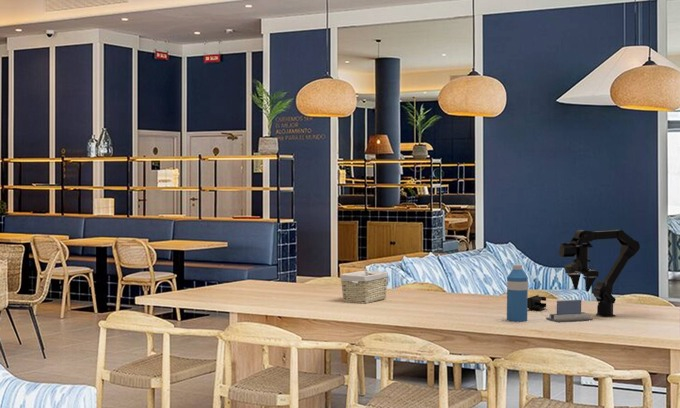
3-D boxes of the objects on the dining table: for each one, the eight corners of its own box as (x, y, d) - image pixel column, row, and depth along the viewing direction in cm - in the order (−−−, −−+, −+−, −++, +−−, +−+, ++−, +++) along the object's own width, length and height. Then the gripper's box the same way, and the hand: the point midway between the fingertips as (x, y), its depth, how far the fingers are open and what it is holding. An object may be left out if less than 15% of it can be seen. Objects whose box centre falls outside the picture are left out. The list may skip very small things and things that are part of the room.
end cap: (532, 308, 465) (532, 294, 465) (546, 309, 461) (546, 295, 461) (525, 310, 457) (525, 296, 457) (539, 311, 453) (539, 297, 453)
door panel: (579, 317, 429) (579, 299, 428) (581, 317, 427) (581, 300, 427) (556, 318, 424) (556, 300, 424) (558, 319, 423) (558, 301, 423)
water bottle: (524, 318, 429) (525, 264, 428) (529, 321, 420) (530, 265, 419) (504, 318, 429) (505, 264, 428) (508, 321, 419) (509, 265, 419)
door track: (579, 317, 434) (579, 311, 434) (592, 320, 424) (592, 314, 424) (546, 319, 427) (546, 313, 427) (558, 322, 418) (558, 316, 418)
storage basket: (365, 304, 477) (365, 275, 477) (338, 302, 486) (338, 273, 485) (389, 299, 497) (389, 271, 497) (362, 297, 506) (362, 270, 506)
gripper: (555, 255, 443) (555, 289, 443) (579, 259, 425) (578, 293, 426) (575, 255, 447) (575, 288, 447) (599, 258, 429) (599, 292, 429)
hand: (581, 290), depth 437 cm, fingers open, 9 cm apart
